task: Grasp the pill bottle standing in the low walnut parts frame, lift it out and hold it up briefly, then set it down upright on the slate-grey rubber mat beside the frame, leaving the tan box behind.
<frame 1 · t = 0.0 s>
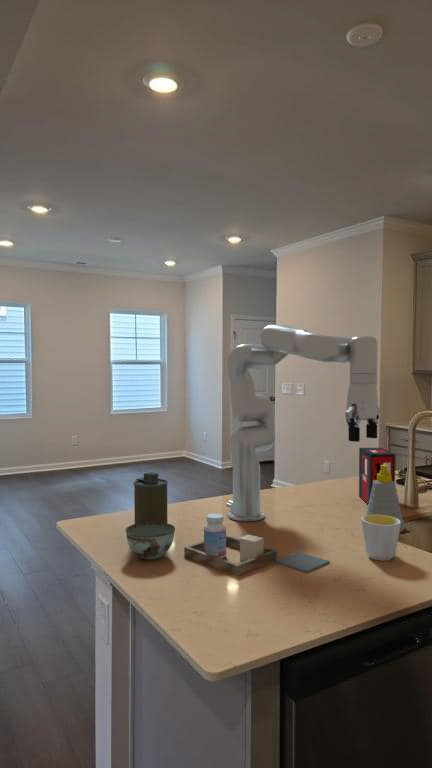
hand: (363, 439, 152), 31 cm above the counter, fingers open, 9 cm apart
bowl: (150, 557, 146), on the counter
cleaning product box: (376, 503, 205), on the counter
mug: (381, 556, 147), on the counter
canister: (150, 538, 162), on the counter
pill bottle: (215, 557, 146), resting in parts frame
soap bottle: (383, 528, 172), on the counter
tan box: (251, 560, 143), resting in parts frame
parts frame: (230, 557, 145), on the counter
slate mat: (302, 562, 141), on the counter
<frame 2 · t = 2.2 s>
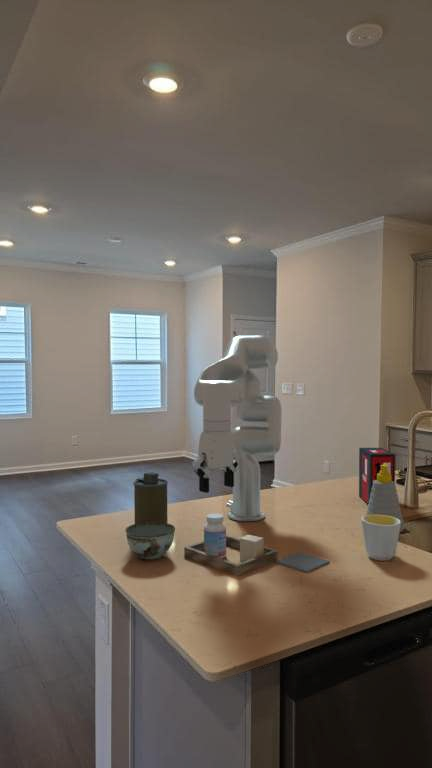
hand: (216, 489, 146), 19 cm above the counter, fingers open, 9 cm apart
nothing on the counter moved.
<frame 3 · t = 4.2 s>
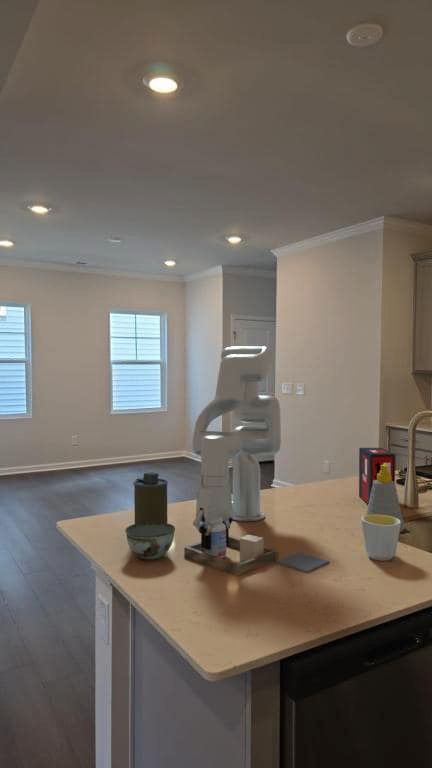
hand: (215, 544, 146), 3 cm above the counter, fingers closed on pill bottle, 6 cm apart
pill bottle: (215, 556, 146), resting in parts frame, touching gripper
everything else where it was.
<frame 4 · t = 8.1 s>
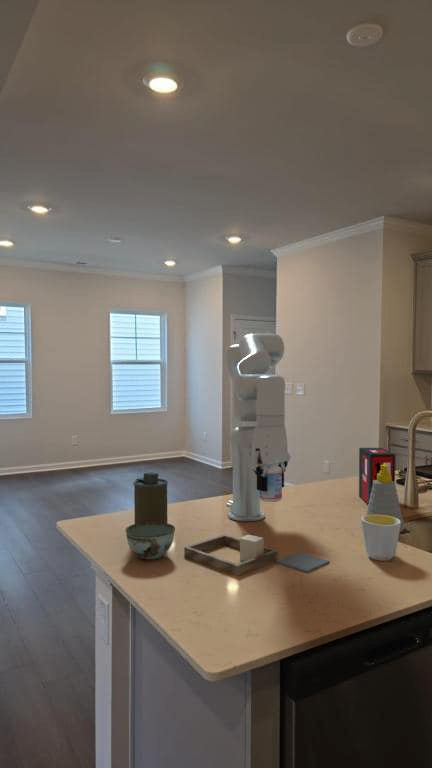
hand: (270, 488, 143), 20 cm above the counter, fingers closed on pill bottle, 6 cm apart
pill bottle: (270, 500, 143), point 16 cm above the counter, touching gripper
everything else where it was.
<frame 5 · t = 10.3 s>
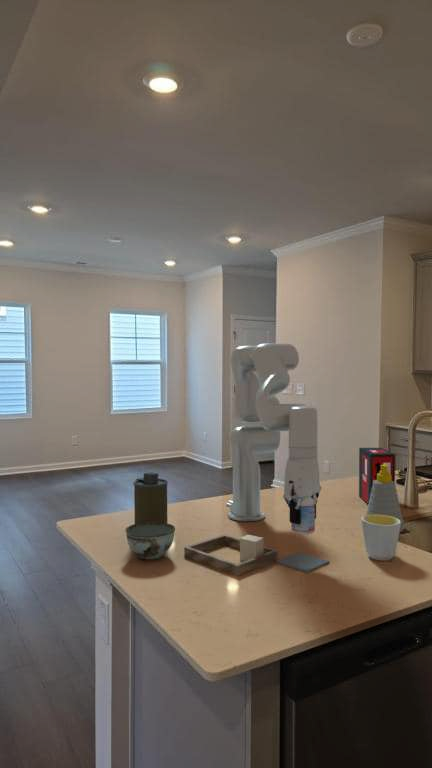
hand: (302, 520, 141), 11 cm above the counter, fingers closed on pill bottle, 6 cm apart
pill bottle: (303, 532, 141), point 8 cm above the counter, touching gripper
everything else where it was.
when the fingers open (5 cm above the counter, at t = 12.0 s): pill bottle drops 1 cm, resting on slate mat.
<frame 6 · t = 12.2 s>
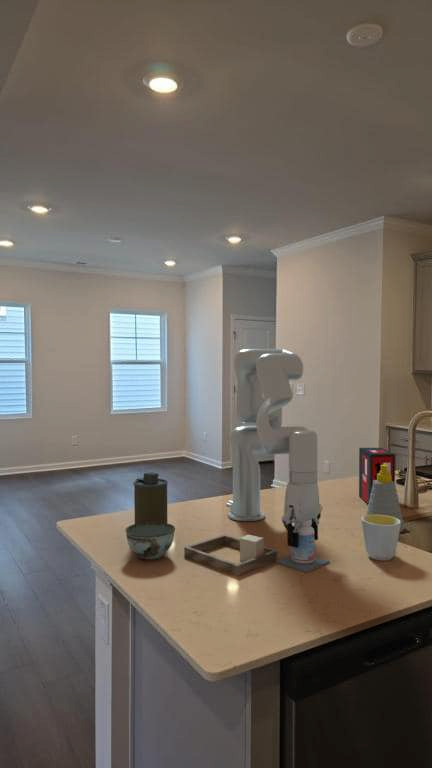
hand: (302, 542, 141), 5 cm above the counter, fingers open, 8 cm apart
pill bottle: (302, 561, 142), resting on slate mat
everything else where it was.
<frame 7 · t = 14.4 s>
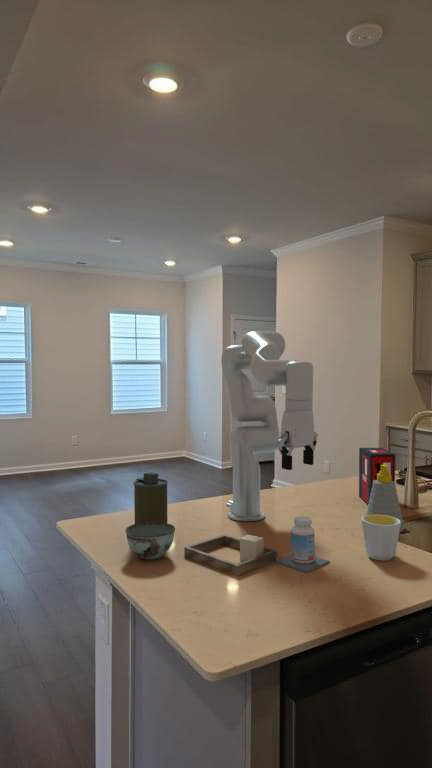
hand: (297, 466, 149), 24 cm above the counter, fingers open, 9 cm apart
nothing on the counter moved.
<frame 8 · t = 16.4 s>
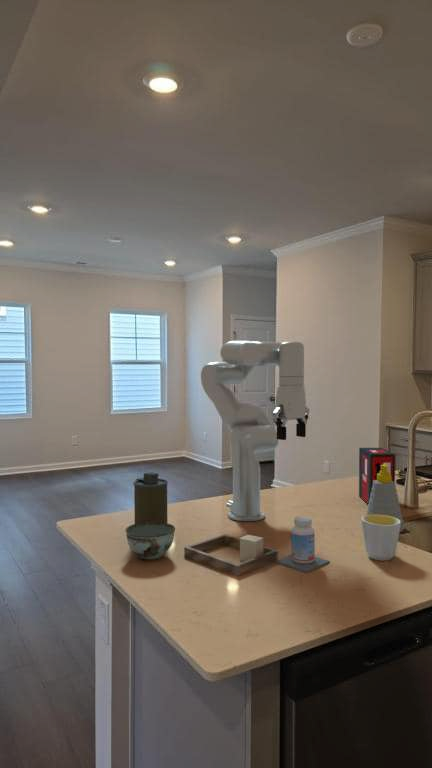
hand: (291, 438, 163), 30 cm above the counter, fingers open, 9 cm apart
nothing on the counter moved.
at the end: pill bottle inside the target area on the slate mat (0.4 cm from its centre), point 0.3 cm above the slate mat's base; pill bottle tilted 0°; the gripper is holding nothing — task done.
